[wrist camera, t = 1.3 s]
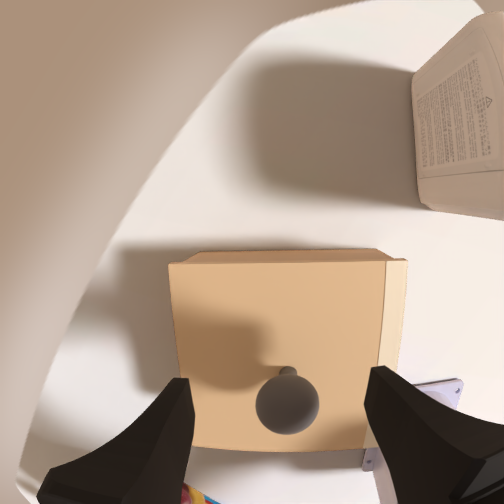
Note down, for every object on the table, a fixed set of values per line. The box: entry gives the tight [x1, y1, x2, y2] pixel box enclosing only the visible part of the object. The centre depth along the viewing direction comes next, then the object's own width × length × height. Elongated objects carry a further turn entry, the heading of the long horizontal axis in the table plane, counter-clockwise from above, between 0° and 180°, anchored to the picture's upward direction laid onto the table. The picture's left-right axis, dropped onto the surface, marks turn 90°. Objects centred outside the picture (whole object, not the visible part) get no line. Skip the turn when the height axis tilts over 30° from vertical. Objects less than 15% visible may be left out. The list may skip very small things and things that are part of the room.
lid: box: [168, 258, 408, 452], centre depth 15 cm, size 12×12×5 cm
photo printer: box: [411, 11, 504, 221], centre depth 13 cm, size 10×4×12 cm, turn 1°
